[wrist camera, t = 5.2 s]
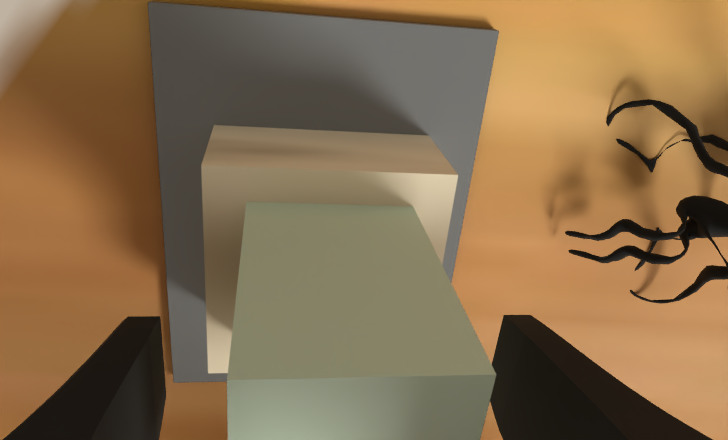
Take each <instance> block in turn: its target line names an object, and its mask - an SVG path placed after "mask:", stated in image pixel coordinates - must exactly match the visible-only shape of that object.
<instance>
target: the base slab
mask: <svg viewBox="0 0 728 440" xmlns="http://www.w3.org/2000/svg"><path fill="white" fill-rule="evenodd" d="M201 174H202V204H203V234H204V264H205V294H206V324H207V355H208V373H228V366H229V357H230V348H231V338H232V329H233V320H234V311H235V302H236V292H237V283H238V274H239V265H240V256H241V247H242V237H243V228H244V219H245V210H246V202H277V203H313V204H348V205H384V206H413V207H414V209H415V211H416V213H417V215H418V217H419V219H420V221H421V223H422V225H423V227H424V229H425V231H426V233H427V235H428V237H429V239H430V241H431V244H432V246H433V248H434V250H435V252H436V254H437V256H438V258H439V260H440V262H441V264H443V258H444V252H445V247H446V241H447V236H448V230H449V224H450V219H451V213H452V208H453V202H454V196H455V191H456V185H457V180H458V174H457V173H456V171H455V170H454V169H453V167H452V166H451V164H450V163H449V162H448V160H447V159H446V158H445V156H444V155H443V154H442V152H441V151H440V150H439V148H438V147H437V146H436V144H435V143H434V142H433V140H432V139H431V138H430V136H429V135H408V134H388V133H367V132H347V131H326V130H306V129H285V128H265V127H244V126H224V125H214V127H213V130H212V133H211V136H210V139H209V142H208V146H207V149H206V152H205V155H204V158H203V161H202V164H201Z"/></svg>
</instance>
